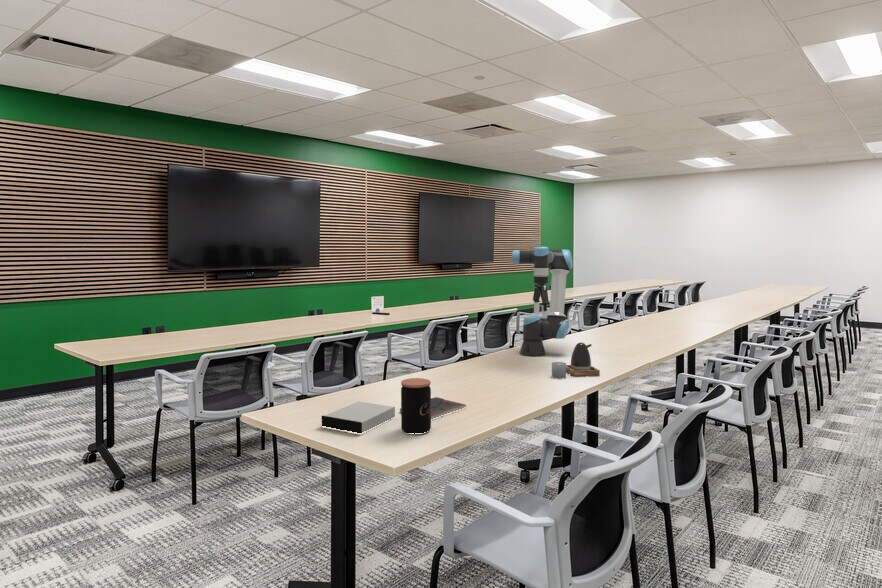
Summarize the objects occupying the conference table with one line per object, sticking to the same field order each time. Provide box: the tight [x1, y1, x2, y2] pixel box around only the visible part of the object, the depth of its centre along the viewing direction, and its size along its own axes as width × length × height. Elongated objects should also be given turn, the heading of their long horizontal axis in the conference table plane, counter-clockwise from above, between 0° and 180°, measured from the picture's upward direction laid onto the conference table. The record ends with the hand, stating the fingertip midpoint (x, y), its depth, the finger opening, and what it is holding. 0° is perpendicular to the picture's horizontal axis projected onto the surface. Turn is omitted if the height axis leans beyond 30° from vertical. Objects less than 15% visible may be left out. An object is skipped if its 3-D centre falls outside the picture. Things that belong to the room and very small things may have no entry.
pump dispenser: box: [570, 342, 593, 371], centre depth 287 cm, size 10×10×15 cm
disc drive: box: [321, 401, 396, 433], centre depth 209 cm, size 18×22×5 cm
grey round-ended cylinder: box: [551, 361, 567, 380], centre depth 280 cm, size 7×7×7 cm
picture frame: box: [399, 396, 467, 419], centre depth 224 cm, size 16×2×22 cm
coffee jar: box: [400, 377, 432, 434], centre depth 199 cm, size 11×11×18 cm
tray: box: [566, 364, 601, 378], centre depth 288 cm, size 14×14×3 cm
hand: (540, 315), depth 296 cm, fingers open, 13 cm apart
